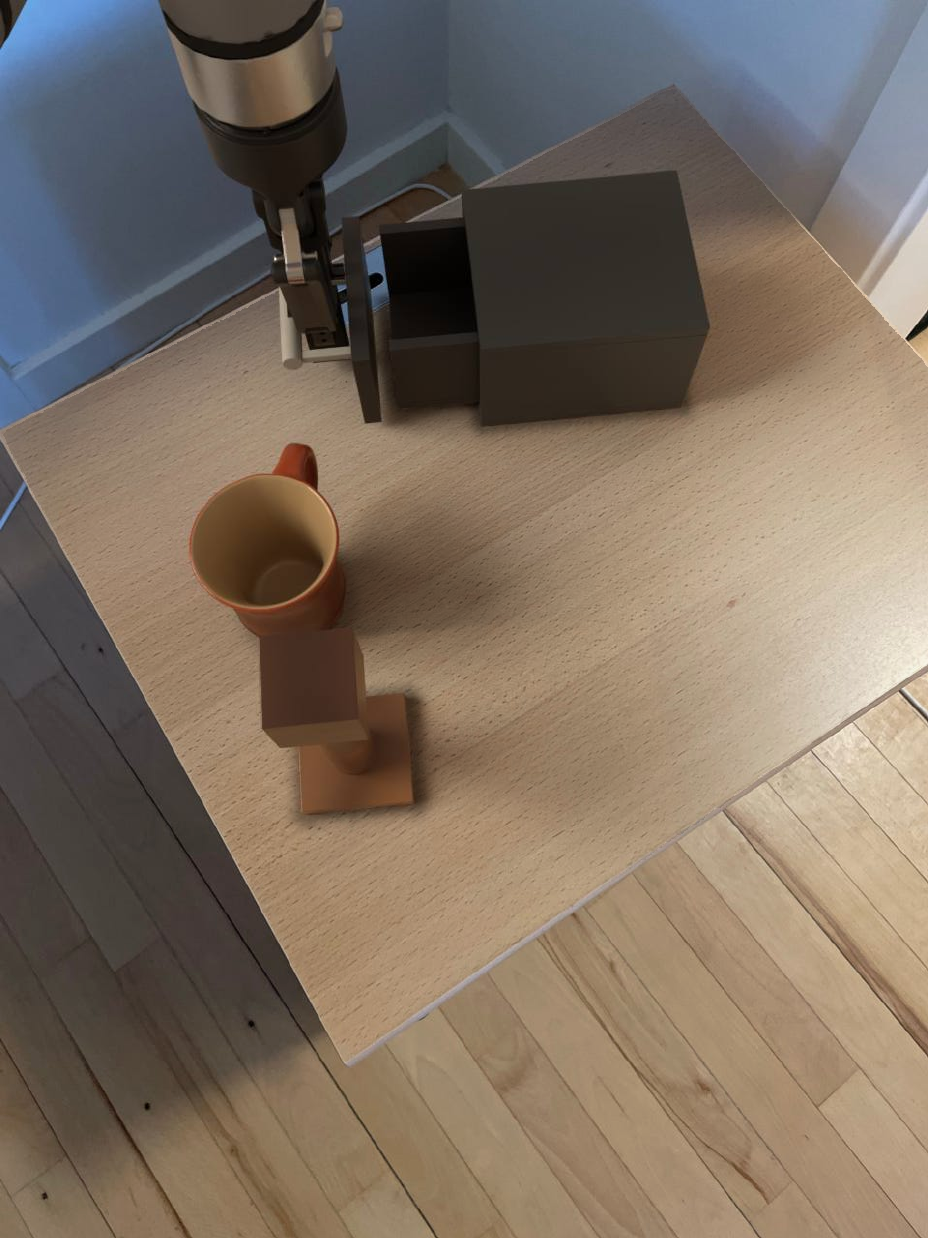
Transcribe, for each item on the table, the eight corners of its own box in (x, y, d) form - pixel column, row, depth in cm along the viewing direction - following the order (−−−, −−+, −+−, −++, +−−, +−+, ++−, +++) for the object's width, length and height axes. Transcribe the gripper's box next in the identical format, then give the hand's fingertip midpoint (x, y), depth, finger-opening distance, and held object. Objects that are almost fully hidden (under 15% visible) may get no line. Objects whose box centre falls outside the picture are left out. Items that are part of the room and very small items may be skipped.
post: (303, 814, 62) (255, 775, 49) (299, 707, 64) (251, 642, 51) (414, 803, 62) (395, 761, 49) (405, 696, 65) (385, 629, 51)
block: (279, 748, 49) (260, 728, 45) (276, 663, 51) (257, 636, 47) (369, 739, 49) (358, 719, 45) (363, 654, 51) (352, 626, 47)
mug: (342, 674, 65) (317, 624, 55) (215, 649, 66) (169, 596, 56) (383, 512, 69) (367, 439, 59) (263, 490, 70) (228, 414, 60)
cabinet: (481, 426, 71) (480, 348, 62) (464, 282, 75) (461, 189, 66) (681, 407, 71) (710, 327, 62) (653, 264, 75) (677, 169, 66)
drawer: (296, 430, 70) (274, 368, 63) (290, 297, 74) (268, 223, 66) (552, 406, 70) (561, 341, 63) (533, 274, 74) (539, 198, 67)
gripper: (346, 174, 47) (389, 426, 69) (331, -24, 51) (376, 273, 74) (189, 188, 47) (283, 436, 69) (187, -12, 51) (276, 282, 74)
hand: (331, 352), depth 71 cm, fingers closed
